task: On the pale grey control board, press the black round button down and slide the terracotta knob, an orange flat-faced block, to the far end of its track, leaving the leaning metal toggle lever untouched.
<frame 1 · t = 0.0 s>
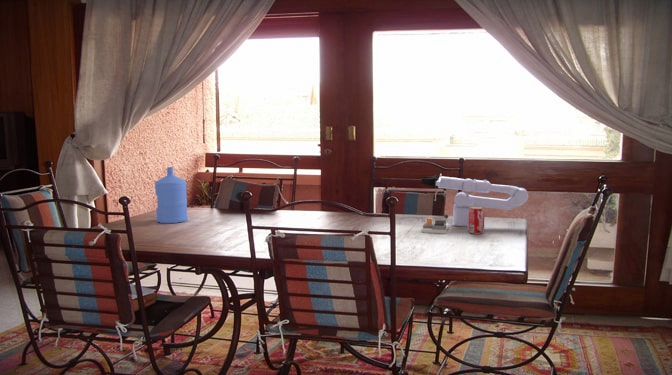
hand: (422, 180, 310), 22 cm above the table, tool horizontal, fingers open, 7 cm apart
orange flat-faced block: (429, 221, 299), point 3 cm above the table, slide at 0.0 cm
button: (439, 223, 291), point 4 cm above the table, slide at 0.0 cm
panel: (435, 229, 296), on the table
water jug: (172, 221, 324), on the table
soda can: (476, 233, 287), on the table
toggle: (445, 217, 299), point 5 cm above the table, hinge at -20.0°
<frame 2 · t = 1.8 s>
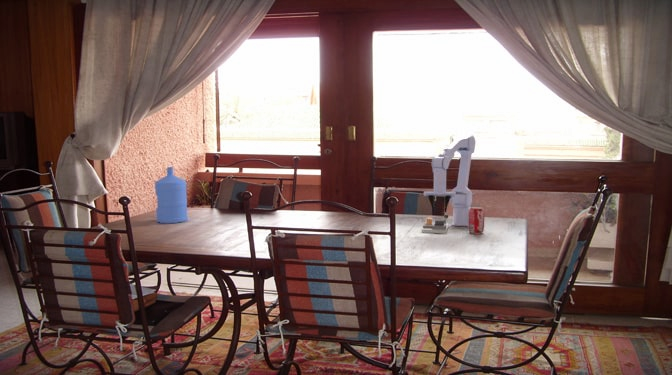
hand: (439, 211, 290), 9 cm above the table, tool pointing down, fingers open, 5 cm apart
nothing on the table moved.
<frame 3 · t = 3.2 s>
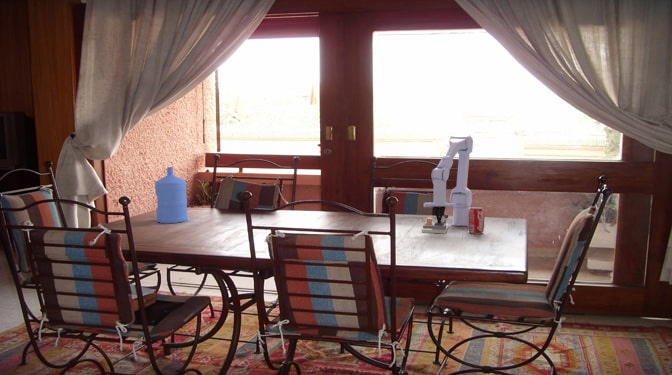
hand: (439, 222, 290), 4 cm above the table, tool pointing down, fingers closed, pressing on button
button: (439, 225, 291), point 3 cm above the table, slide at 1.0 cm, touching gripper
everything else where it was.
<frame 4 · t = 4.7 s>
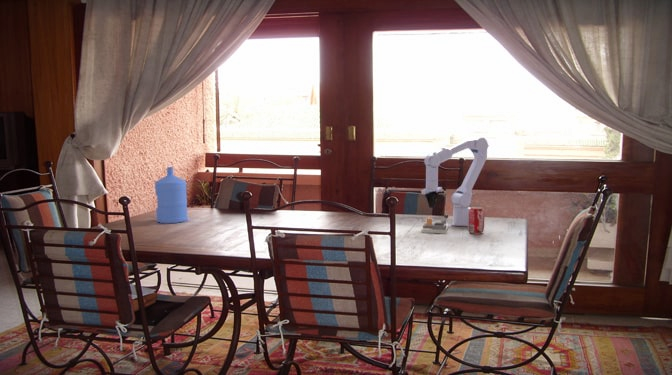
hand: (431, 207, 303), 9 cm above the table, tool pointing down, fingers closed
button: (439, 225, 291), point 3 cm above the table, slide at 1.2 cm
everything else where it was.
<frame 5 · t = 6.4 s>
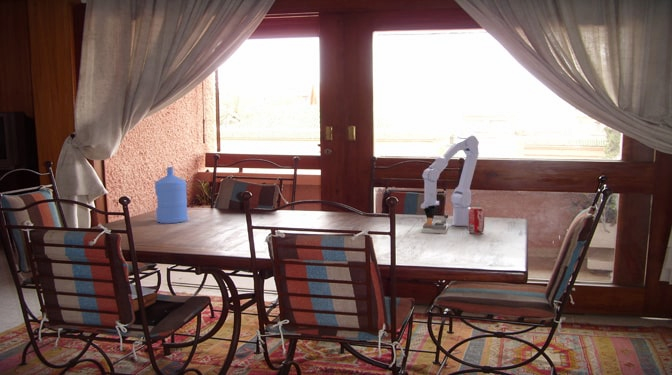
hand: (430, 221, 302), 3 cm above the table, tool pointing down, fingers closed
orange flat-faced block: (429, 221, 299), point 3 cm above the table, slide at 0.1 cm, touching gripper
everything else where it was.
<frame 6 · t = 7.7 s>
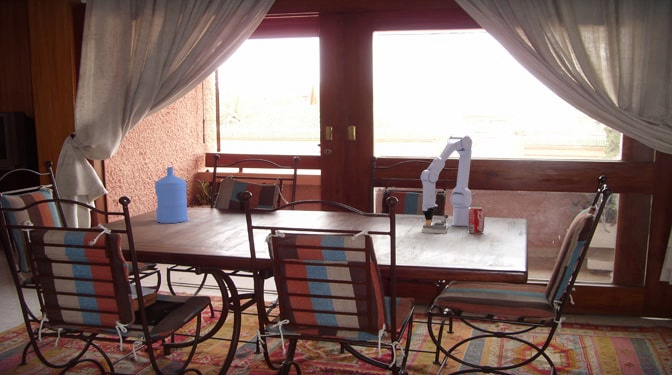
hand: (428, 223, 296), 3 cm above the table, tool pointing down, fingers closed
orange flat-faced block: (428, 223, 293), point 3 cm above the table, slide at 5.6 cm, touching gripper, panel
everything else where it was.
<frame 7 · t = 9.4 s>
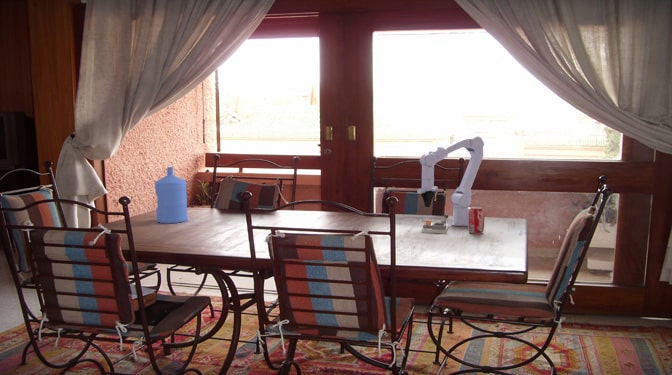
hand: (427, 206, 302), 10 cm above the table, tool pointing down, fingers closed
orange flat-faced block: (428, 223, 293), point 3 cm above the table, slide at 5.6 cm
everything else where it was.
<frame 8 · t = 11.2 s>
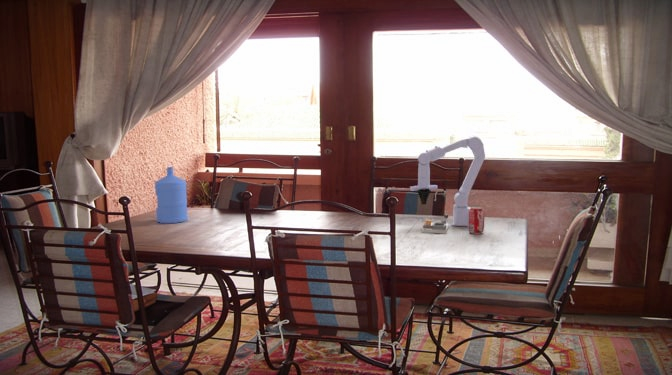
hand: (423, 204, 309), 10 cm above the table, tool pointing down, fingers closed
nothing on the table moved.
at the end: button slide at 1.2 cm; orange flat-faced block slide at 5.6 cm; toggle at -20° (first picture: -20°) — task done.
